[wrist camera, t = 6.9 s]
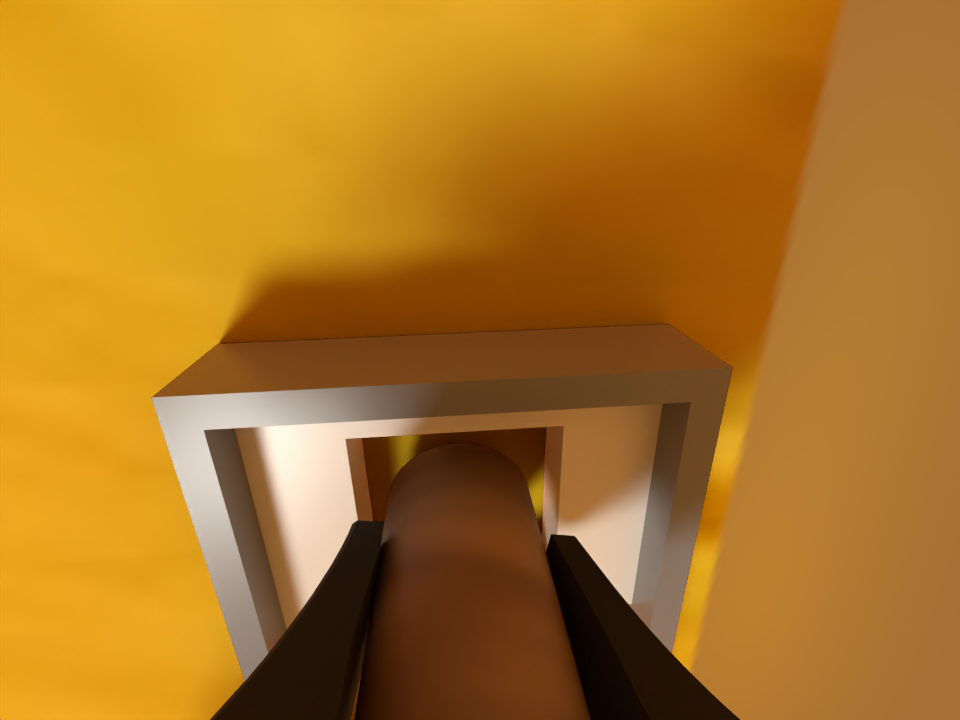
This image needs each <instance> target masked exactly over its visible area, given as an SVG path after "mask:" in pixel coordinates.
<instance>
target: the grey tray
mask: <svg viewBox="0 0 960 720" xmlns="http://www.w3.org/2000/svg"><path fill="white" fill-rule="evenodd" d="M732 369H733V367H731V366H730V365H728V364H727V363H725V362H724V361H723V360H721V359H720V358H718V357H717V356H715V355H714V354H712V353H711V352H709V351H708V350H706V349H705V348H703V347H702V346H701V345H699V344H698V343H696V342H695V341H693V340H692V339H690V338H689V337H687V336H686V335H684V334H683V333H681V332H680V331H679V330H677V329H676V328H674V327H673V326H671V325H670V324H655V325H633V326H610V327H588V328H565V329H542V330H520V331H497V332H475V333H452V334H429V335H407V336H384V337H362V338H339V339H317V340H294V341H271V342H249V343H226V344H217V345H216V346H215V347H213V348H212V349H211V350H210V351H208V352H207V353H206V354H205V355H203V356H202V357H201V358H200V359H198V360H197V361H196V362H195V363H194V364H192V365H191V366H190V367H189V368H187V369H186V370H185V371H184V372H182V373H181V374H180V375H179V376H177V377H176V378H175V379H174V380H172V381H171V382H170V383H169V384H168V385H166V386H165V387H164V388H163V389H161V390H160V391H159V392H158V393H156V394H155V395H154V396H153V397H151V398H152V401H153V404H154V407H155V410H156V413H157V416H158V419H159V422H160V425H161V428H162V431H163V434H164V437H165V440H166V443H167V446H168V449H169V452H170V455H171V458H172V462H173V465H174V468H175V471H176V474H177V477H178V480H179V483H180V486H181V489H182V492H183V495H184V498H185V501H186V504H187V507H188V510H189V513H190V516H191V519H192V522H193V525H194V528H195V531H196V534H197V537H198V540H199V543H200V546H201V549H202V552H203V556H204V559H205V562H206V565H207V568H208V571H209V574H210V577H211V580H212V583H213V586H214V589H215V592H216V595H217V598H218V601H219V604H220V607H221V610H222V613H223V616H224V619H225V622H226V625H227V628H228V631H229V634H230V637H231V640H232V643H233V646H234V650H235V653H236V656H237V659H238V662H239V665H240V668H241V671H242V674H243V677H244V680H246V679H247V678H248V677H249V676H250V675H251V673H252V672H253V671H254V670H255V669H256V668H257V666H258V665H259V664H260V663H261V662H262V660H263V659H264V658H265V657H266V656H267V654H268V653H269V652H270V651H271V649H272V648H273V647H274V646H275V644H276V643H277V642H278V640H279V639H280V638H281V637H282V635H283V634H284V633H285V631H286V630H287V629H288V627H289V626H290V625H291V623H292V622H293V620H294V619H295V618H296V616H297V615H298V614H299V612H300V611H301V610H302V608H303V607H304V605H305V604H306V603H307V601H308V600H309V598H310V597H311V595H312V594H313V592H314V591H315V589H316V588H317V586H318V585H319V583H320V582H321V580H322V579H323V577H324V575H325V574H326V572H327V571H328V569H329V568H330V566H331V564H332V563H333V561H334V559H335V557H336V556H337V554H338V552H339V550H340V549H341V547H342V545H343V543H344V541H345V539H346V537H347V535H348V533H349V530H350V528H351V526H352V524H353V523H354V522H356V521H357V520H362V521H373V517H372V509H371V502H370V495H369V487H368V480H367V473H366V465H365V458H364V450H363V443H362V438H368V437H385V436H402V435H418V434H435V433H452V432H469V431H485V430H502V429H519V428H536V427H547V428H546V450H545V472H544V495H543V517H542V541H543V544H544V548H545V552H546V550H547V546H548V543H549V539H550V536H551V534H557V535H571V536H575V537H576V538H577V539H578V541H579V542H580V543H581V544H582V546H583V547H584V548H585V550H586V551H587V552H588V554H589V555H590V556H591V557H592V559H593V560H594V561H595V563H596V564H597V565H598V567H599V568H600V569H601V570H602V572H603V573H604V574H605V576H606V577H607V578H608V579H609V581H610V582H611V583H612V585H613V586H614V587H615V588H616V590H617V591H618V592H619V593H620V595H621V596H622V597H623V598H624V599H625V601H626V602H627V603H628V604H629V606H630V607H631V608H632V609H633V610H634V612H635V613H636V614H637V615H638V616H639V617H640V619H641V620H642V621H643V622H644V623H645V624H646V626H647V627H648V628H649V629H650V630H651V631H652V632H653V633H654V635H655V636H656V637H657V638H658V639H659V640H660V641H661V642H662V643H663V645H664V646H665V647H666V648H667V649H668V650H669V651H670V652H671V653H672V649H673V644H674V640H675V635H676V630H677V626H678V621H679V616H680V612H681V607H682V602H683V598H684V593H685V588H686V584H687V579H688V574H689V570H690V565H691V560H692V556H693V551H694V546H695V542H696V537H697V532H698V528H699V523H700V518H701V514H702V509H703V504H704V500H705V495H706V490H707V485H708V481H709V476H710V471H711V467H712V462H713V457H714V453H715V448H716V443H717V439H718V434H719V429H720V425H721V420H722V415H723V411H724V406H725V401H726V397H727V392H728V387H729V383H730V378H731V373H732Z"/></svg>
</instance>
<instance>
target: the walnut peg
mask: <svg viewBox="0 0 960 720" xmlns="http://www.w3.org/2000/svg"><path fill="white" fill-rule="evenodd" d="M354 720H591V718H590V715H589V711H588V707H587V704H586V700H585V696H584V693H583V689H582V685H581V681H580V678H579V674H578V670H577V667H576V663H575V659H574V655H573V652H572V648H571V644H570V641H569V637H568V633H567V630H566V626H565V622H564V618H563V615H562V611H561V607H560V604H559V600H558V596H557V592H556V589H555V585H554V581H553V578H552V574H551V570H550V567H549V563H548V559H547V555H546V552H545V548H544V544H543V541H542V537H541V533H540V529H539V526H538V522H537V518H536V515H535V511H534V507H533V504H532V500H531V496H530V492H529V489H528V485H527V482H526V479H525V477H524V475H523V473H522V472H521V470H520V469H519V468H518V466H517V465H516V464H515V463H514V462H513V461H512V460H510V459H509V458H508V457H507V456H505V455H503V454H502V453H500V452H498V451H496V450H493V449H491V448H488V447H485V446H481V445H476V444H465V443H458V444H448V445H442V446H439V447H435V448H432V449H430V450H427V451H425V452H423V453H421V454H419V455H417V456H416V457H414V458H413V459H412V460H410V461H409V462H408V463H407V464H406V465H405V466H403V467H402V469H401V470H400V471H399V472H398V474H397V475H396V477H395V478H394V480H393V482H392V484H391V487H390V490H389V494H388V500H387V507H386V513H385V520H384V527H383V535H382V544H381V552H380V558H379V565H378V572H377V578H376V585H375V590H374V595H373V601H372V606H371V613H370V619H369V626H368V633H367V639H366V646H365V653H364V659H363V666H362V673H361V679H360V686H359V692H358V699H357V706H356V712H355V719H354Z"/></svg>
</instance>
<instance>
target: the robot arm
mask: <svg viewBox="0 0 960 720" xmlns="http://www.w3.org/2000/svg"><path fill="white" fill-rule="evenodd" d="M383 526H384V522H376V521H362V520H357V521H356V522H354V523H353V524H352V526H351V528H350V530H349V533H348V535H347V537H346V539H345V541H344V543H343V545H342V547H341V549H340V550H339V552H338V554H337V556H336V557H335V559H334V561H333V563H332V564H331V566H330V568H329V569H328V571H327V572H326V574H325V575H324V577H323V579H322V580H321V582H320V583H319V585H318V586H317V588H316V589H315V591H314V592H313V594H312V595H311V597H310V598H309V600H308V601H307V603H306V604H305V605H304V607H303V608H302V610H301V611H300V612H299V614H298V615H297V616H296V618H295V619H294V620H293V622H292V623H291V625H290V626H289V627H288V629H287V630H286V631H285V633H284V634H283V635H282V637H281V638H280V639H279V640H278V642H277V643H276V644H275V646H274V647H273V648H272V649H271V651H270V652H269V653H268V654H267V656H266V657H265V658H264V659H263V660H262V662H261V663H260V664H259V665H258V666H257V668H256V669H255V670H254V671H253V672H252V673H251V675H250V676H249V677H248V678H247V679H246V680H245V682H244V683H243V684H242V685H241V686H240V687H239V688H238V689H237V691H236V692H235V693H234V694H233V695H232V696H231V697H230V698H229V699H228V701H227V702H226V703H225V704H224V705H223V706H222V707H221V708H220V709H219V710H218V712H217V713H216V714H215V715H214V716H213V717H212V718H211V719H210V720H350V718H351V714H352V710H353V705H354V701H355V697H356V692H357V688H358V684H359V679H360V675H361V671H362V666H363V659H364V653H365V646H366V639H367V633H368V626H369V619H370V613H371V606H372V601H373V595H374V590H375V585H376V578H377V572H378V565H379V558H380V552H381V544H382V535H383ZM546 555H547V559H548V563H549V567H550V570H551V574H552V578H553V581H554V585H555V589H556V592H557V596H558V600H559V604H560V607H561V611H562V615H563V618H564V622H565V626H566V630H567V633H568V637H569V641H570V644H571V648H572V652H573V655H574V659H575V663H576V667H577V670H578V674H579V678H580V681H581V685H582V689H583V693H584V696H585V700H586V704H587V707H588V711H589V715H590V718H591V720H740V719H739V718H738V717H736V716H735V715H734V714H733V713H732V712H731V711H730V710H729V709H727V708H726V707H725V706H724V705H723V704H722V703H721V702H720V701H719V700H718V699H717V698H716V697H715V696H714V695H712V694H711V693H710V692H709V691H708V690H707V689H706V688H705V687H704V686H703V685H702V684H701V683H700V682H699V681H698V680H697V679H696V678H695V677H694V676H693V675H692V674H691V673H690V672H689V671H688V670H687V669H686V668H685V667H684V666H683V665H682V664H681V663H680V662H679V661H678V660H677V659H676V658H675V657H674V655H673V654H672V653H671V652H670V651H669V650H668V649H667V648H666V647H665V646H664V645H663V643H662V642H661V641H660V640H659V639H658V638H657V637H656V636H655V635H654V633H653V632H652V631H651V630H650V629H649V628H648V627H647V626H646V624H645V623H644V622H643V621H642V620H641V619H640V617H639V616H638V615H637V614H636V613H635V612H634V610H633V609H632V608H631V607H630V606H629V604H628V603H627V602H626V601H625V599H624V598H623V597H622V596H621V595H620V593H619V592H618V591H617V590H616V588H615V587H614V586H613V585H612V583H611V582H610V581H609V579H608V578H607V577H606V576H605V574H604V573H603V572H602V570H601V569H600V568H599V567H598V565H597V564H596V563H595V561H594V560H593V559H592V557H591V556H590V555H589V554H588V552H587V551H586V550H585V548H584V547H583V546H582V544H581V543H580V542H579V541H578V539H577V538H576V537H575V536H571V535H557V534H551V536H550V539H549V543H548V546H547V550H546Z"/></svg>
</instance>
